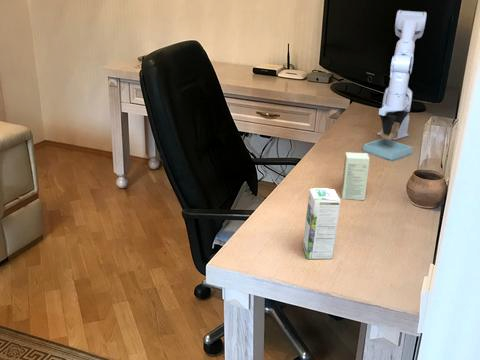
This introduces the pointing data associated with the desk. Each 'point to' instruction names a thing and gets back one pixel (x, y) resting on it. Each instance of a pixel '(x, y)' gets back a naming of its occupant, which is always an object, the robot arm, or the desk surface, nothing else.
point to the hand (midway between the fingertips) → (390, 132)
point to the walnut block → (393, 132)
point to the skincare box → (355, 176)
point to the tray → (388, 149)
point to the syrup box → (321, 223)
